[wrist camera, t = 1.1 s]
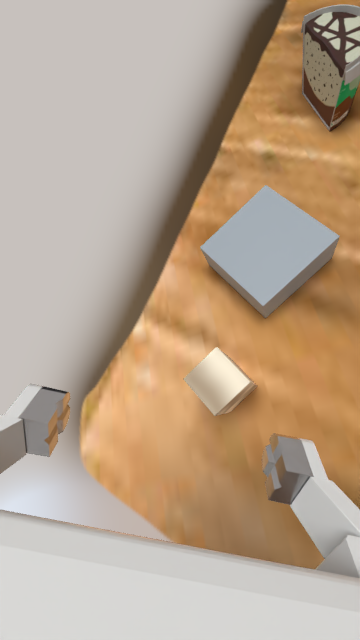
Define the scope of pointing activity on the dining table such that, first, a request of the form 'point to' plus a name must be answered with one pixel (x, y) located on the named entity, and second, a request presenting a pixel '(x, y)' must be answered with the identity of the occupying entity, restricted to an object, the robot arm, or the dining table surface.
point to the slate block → (269, 250)
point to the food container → (331, 61)
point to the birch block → (219, 382)
